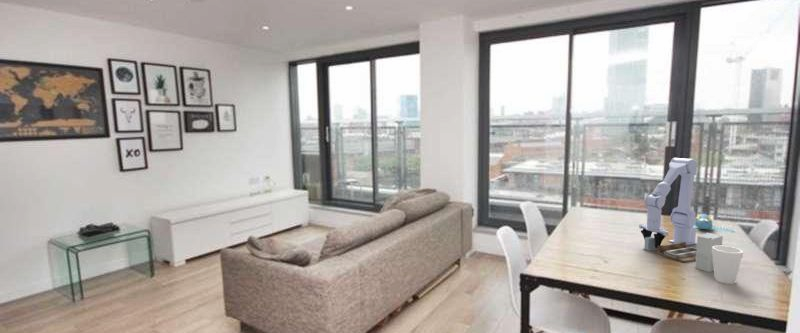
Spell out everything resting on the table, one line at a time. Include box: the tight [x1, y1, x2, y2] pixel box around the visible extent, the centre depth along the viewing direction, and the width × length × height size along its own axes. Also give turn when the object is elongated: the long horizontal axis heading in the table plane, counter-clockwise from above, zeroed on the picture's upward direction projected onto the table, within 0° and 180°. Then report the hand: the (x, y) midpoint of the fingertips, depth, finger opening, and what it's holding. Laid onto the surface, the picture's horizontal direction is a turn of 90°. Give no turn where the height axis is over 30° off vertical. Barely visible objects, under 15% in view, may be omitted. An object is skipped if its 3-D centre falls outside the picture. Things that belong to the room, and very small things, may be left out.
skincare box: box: [694, 232, 724, 273], centre depth 169 cm, size 8×6×15 cm
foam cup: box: [712, 244, 744, 285], centre depth 157 cm, size 10×9×13 cm
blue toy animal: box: [693, 213, 736, 233], centre depth 226 cm, size 28×9×15 cm
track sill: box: [656, 242, 697, 264], centre depth 185 cm, size 17×13×4 cm
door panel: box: [643, 235, 657, 251], centre depth 196 cm, size 8×2×6 cm, turn 106°
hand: (652, 245), depth 196 cm, fingers open, 5 cm apart
